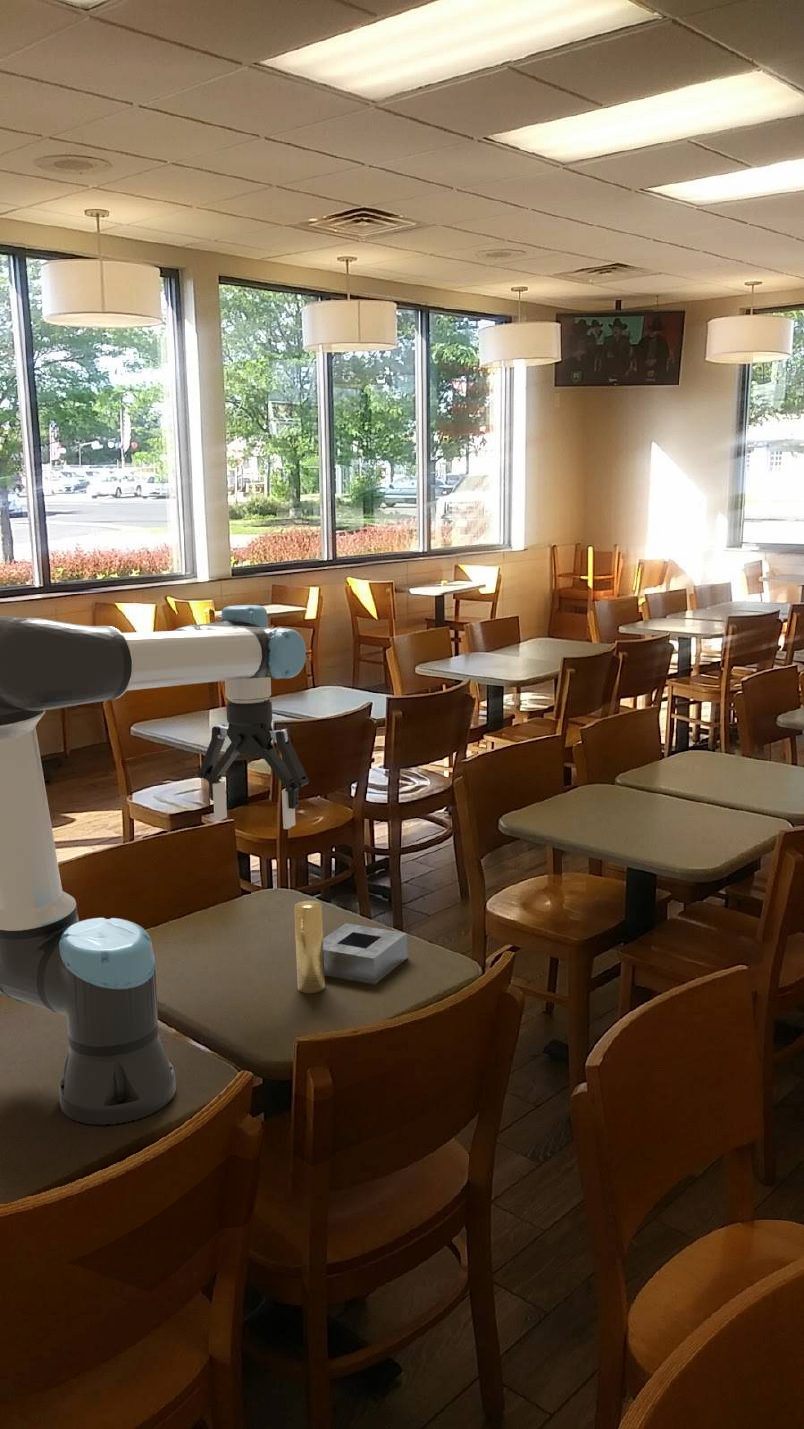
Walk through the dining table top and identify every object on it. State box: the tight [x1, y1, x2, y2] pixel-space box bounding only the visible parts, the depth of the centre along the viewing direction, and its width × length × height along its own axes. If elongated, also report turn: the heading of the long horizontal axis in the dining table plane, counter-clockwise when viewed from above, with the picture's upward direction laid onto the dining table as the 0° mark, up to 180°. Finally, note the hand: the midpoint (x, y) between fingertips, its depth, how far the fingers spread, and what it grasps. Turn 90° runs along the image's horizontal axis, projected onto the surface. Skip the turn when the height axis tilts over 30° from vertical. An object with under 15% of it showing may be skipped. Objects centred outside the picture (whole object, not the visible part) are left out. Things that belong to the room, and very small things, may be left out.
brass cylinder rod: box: [293, 900, 326, 994], centre depth 185 cm, size 4×4×14 cm
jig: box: [323, 922, 408, 985], centre depth 194 cm, size 12×12×4 cm
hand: (254, 823), depth 194 cm, fingers open, 13 cm apart
